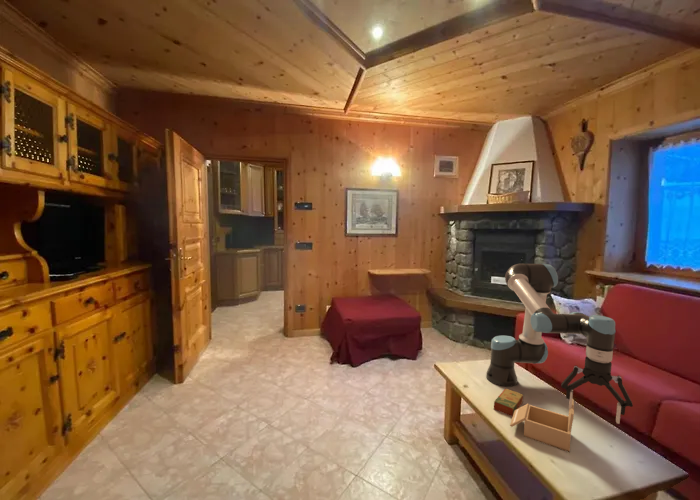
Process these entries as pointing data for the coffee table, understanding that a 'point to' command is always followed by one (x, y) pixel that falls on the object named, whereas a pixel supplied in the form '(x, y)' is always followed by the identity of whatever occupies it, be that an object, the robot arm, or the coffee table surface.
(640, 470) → the coffee table surface
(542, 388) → the coffee table surface
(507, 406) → the carton
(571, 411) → the flap
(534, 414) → the shipping box
